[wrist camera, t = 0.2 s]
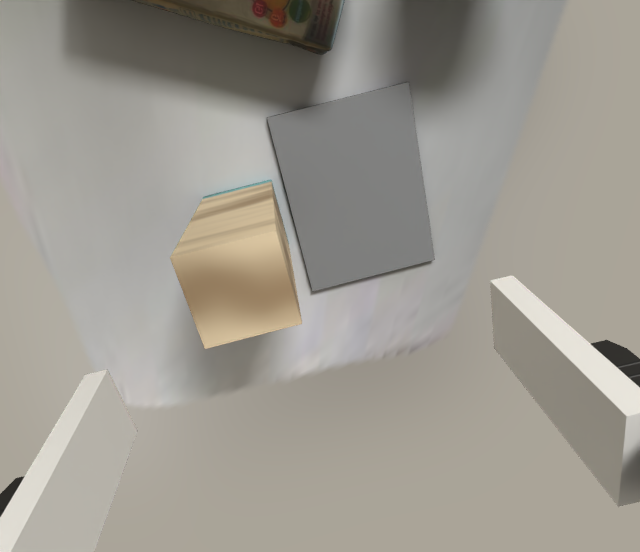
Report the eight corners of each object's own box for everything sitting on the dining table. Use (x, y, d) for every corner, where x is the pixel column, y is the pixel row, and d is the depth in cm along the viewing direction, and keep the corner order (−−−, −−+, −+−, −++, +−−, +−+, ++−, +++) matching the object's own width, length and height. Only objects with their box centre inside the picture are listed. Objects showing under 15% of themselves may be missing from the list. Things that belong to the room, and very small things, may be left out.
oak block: (203, 196, 41) (170, 257, 26) (271, 179, 41) (275, 230, 26) (224, 259, 43) (205, 349, 28) (288, 243, 43) (302, 323, 28)
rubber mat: (266, 117, 39) (266, 117, 38) (407, 82, 39) (409, 82, 38) (311, 289, 45) (312, 291, 44) (432, 257, 45) (434, 259, 45)
